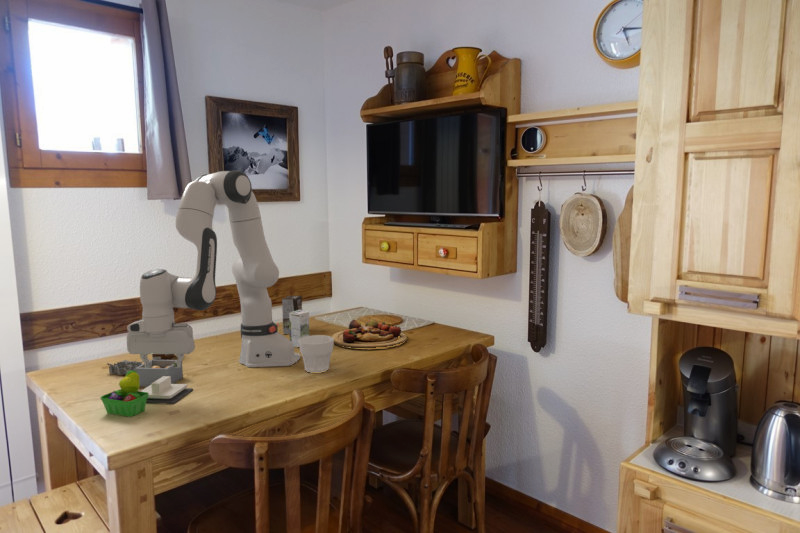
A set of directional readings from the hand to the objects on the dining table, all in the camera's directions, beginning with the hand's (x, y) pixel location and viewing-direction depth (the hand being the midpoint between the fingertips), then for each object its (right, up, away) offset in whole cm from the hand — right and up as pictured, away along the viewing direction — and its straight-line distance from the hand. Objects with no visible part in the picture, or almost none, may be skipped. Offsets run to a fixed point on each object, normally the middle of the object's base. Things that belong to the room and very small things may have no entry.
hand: (163, 367), depth 175 cm
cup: (+43, -6, +26) cm, 51 cm away
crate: (-7, -7, +15) cm, 18 cm away
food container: (-16, -4, +43) cm, 46 cm away
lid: (-1, -8, +1) cm, 8 cm away
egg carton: (-24, -7, +26) cm, 36 cm away
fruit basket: (-6, -11, -11) cm, 17 cm away
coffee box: (+25, +1, +81) cm, 85 cm away
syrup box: (+32, -2, +57) cm, 65 cm away
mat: (-1, -9, +1) cm, 9 cm away
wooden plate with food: (+60, -1, +66) cm, 89 cm away
